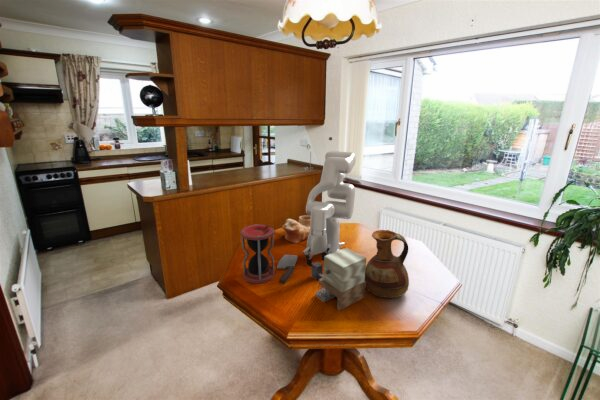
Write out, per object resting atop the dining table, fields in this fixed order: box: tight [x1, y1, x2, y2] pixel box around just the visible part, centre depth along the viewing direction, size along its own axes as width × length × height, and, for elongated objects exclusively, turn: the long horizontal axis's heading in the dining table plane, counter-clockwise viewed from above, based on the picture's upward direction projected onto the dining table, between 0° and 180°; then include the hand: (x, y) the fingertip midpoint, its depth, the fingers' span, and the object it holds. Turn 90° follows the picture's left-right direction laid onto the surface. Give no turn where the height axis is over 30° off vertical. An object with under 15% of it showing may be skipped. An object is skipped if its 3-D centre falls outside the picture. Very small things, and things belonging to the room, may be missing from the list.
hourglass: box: [240, 223, 276, 284], centre depth 146 cm, size 16×16×25 cm
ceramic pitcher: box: [365, 229, 410, 299], centre depth 133 cm, size 20×20×30 cm
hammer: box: [310, 261, 324, 281], centre depth 140 cm, size 4×22×7 cm, turn 36°
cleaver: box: [276, 254, 298, 284], centre depth 156 cm, size 30×10×2 cm, turn 172°
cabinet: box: [318, 247, 367, 311], centre depth 130 cm, size 16×14×20 cm
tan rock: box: [282, 215, 311, 244], centre depth 192 cm, size 14×26×15 cm, turn 133°
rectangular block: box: [315, 287, 335, 303], centre depth 132 cm, size 6×6×2 cm
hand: (316, 263), depth 145 cm, fingers open, 9 cm apart
